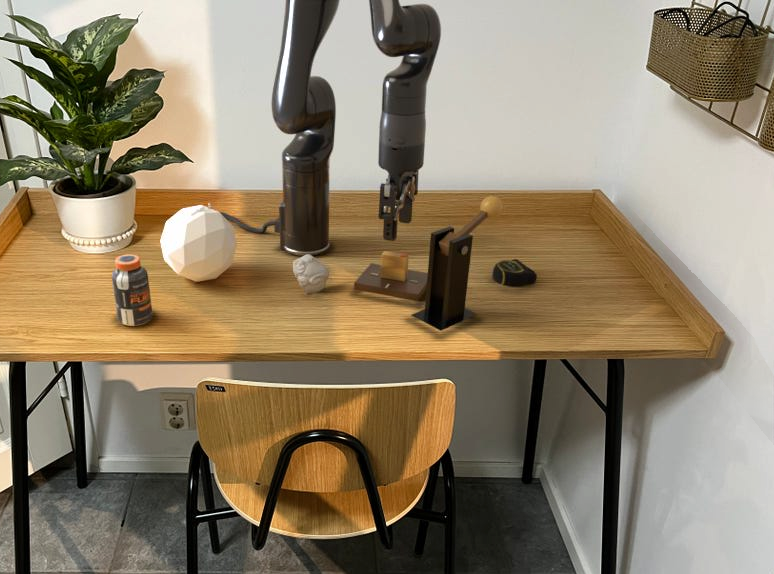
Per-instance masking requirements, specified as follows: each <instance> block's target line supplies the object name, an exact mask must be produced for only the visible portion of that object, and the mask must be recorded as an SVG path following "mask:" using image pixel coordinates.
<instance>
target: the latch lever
mask: <svg viewBox="0 0 774 574" xmlns="http://www.w3.org/2000/svg"><path fill="white" fill-rule="evenodd" d="M479 208H480V209H479V210H480V211H479V212H478V213H477V214H476V215H475V216H474V217H472V219H471V220H469V222H467V223H466V224H465V225H464V226H463V227H462V228H461V229H460V230H459V231H457V232H456V233H455V232H454V233H452V232H449V233H448V234H447V235H446V236H445V237H444V238H443V239H442V240H441V241H440V242H439V245H440V249H441V252H442V254H445V255H447V256H448V252H449V241H450V240H453V239H456V238H458V237H461V236H464V235H466V234H470V235H471V233H472V232H473V231H474V230H476V228H477V227H479V226H480V225H481V224H482V223H483V222H484V221H485V220H486V219H492V220H493V219H497V218H498V217H500V215H501V214H502V212H503V210H504V206H503V202H502V200H501V199H500V198H499V197H497V196H494V195H493V196H492V195H491V196H487V197H485V198H484V199H483V200H482V201H481V202H480V207H479Z"/></svg>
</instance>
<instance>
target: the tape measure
mask: <svg viewBox="0 0 774 574" xmlns="http://www.w3.org/2000/svg"><path fill="white" fill-rule="evenodd" d="M491 275H492V278H493V281H495V282H496V283H497V284H499V285H502V286H504V287H510V288H519V287H524V286H529V285H533V284H535V283H536V282H537V279H538V275H537V273H536V272H535V271H534V270H533V269H531V268H530V267H529V266H527V265H525V264H524V263H523V262H522V261H520V260H519V259H517V258H514V259H503V260H499V261H498V262H497V263H495V265H494V267H493V269H492V274H491Z"/></svg>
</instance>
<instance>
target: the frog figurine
mask: <svg viewBox="0 0 774 574" xmlns="http://www.w3.org/2000/svg"><path fill="white" fill-rule="evenodd" d="M292 271H293V274H294V276H295V278H297V279H296V280H297V281H298V283H299V287H300V288H301V290H303V292H305V293H307V294H309V295H314V294H318V293H320V292H323V290H324V289H325V288H326V286H327V281H328V279H329V278H330V269H329V268H328V267H327V266H326V265H325V264H324V263H323V262H322V261H320V260H319V259H317V258H316V257H314V256H311V255H310V254H307V255H304V256H300V257H298V258H297V259H295V260H293V261H292Z"/></svg>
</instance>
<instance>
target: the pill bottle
mask: <svg viewBox="0 0 774 574" xmlns="http://www.w3.org/2000/svg"><path fill="white" fill-rule="evenodd" d="M114 261H115V269H114V270H113V272H112V274H111V281H112V287H113V294H114V302H115V307H116V313H117V314H116V315H117V320H118V322H119V323H120V324H122V325H124V326H129V327H135V326H136V327H137V326H141V325H144V324H146V323H148V322H150V321H151V320H152V319H153V317H154V314H153V307H152V297H151V289H150V281H149V274H148V271H147V269H146V268H145V267H144V266H142V264H141V257H140V256H138V255H136V254H123V255H119V256H117V257H116V258H115V260H114Z"/></svg>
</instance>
